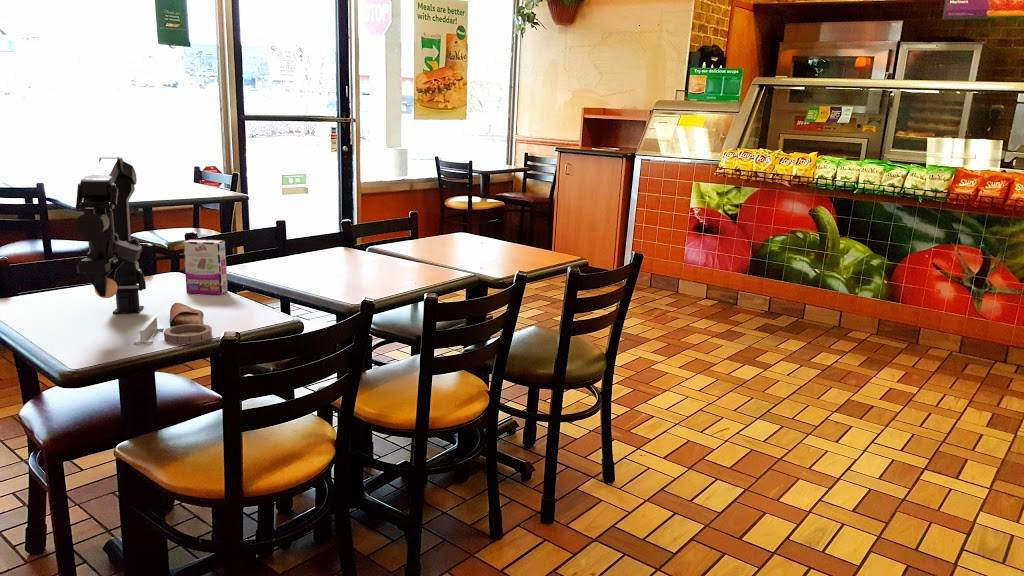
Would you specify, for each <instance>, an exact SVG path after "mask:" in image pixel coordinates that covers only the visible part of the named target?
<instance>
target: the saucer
mask: <svg viewBox="0 0 1024 576" xmlns="http://www.w3.org/2000/svg"><path fill="white" fill-rule="evenodd" d="M212 331H213V329H212V327H211V326H210V325H208V324H204V323H203V324H183V325H176V326H173V327H170V326H169V327H167V328H166V329H165V330H163V338H164V342H165V341H166V343H167V342H168V344H170V343H171V344H172V345H182V344H186V345H193V344H192V343H196V344H200V343H199V342H201V343H203V342H204V341H205V342H206V341H209V340H211V339H212V338H213V332H212ZM211 337H212V338H211ZM210 338H211V339H210ZM205 342H204V343H205Z"/></svg>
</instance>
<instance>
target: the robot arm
mask: <svg viewBox="0 0 1024 576" xmlns="http://www.w3.org/2000/svg"><path fill="white" fill-rule="evenodd" d="M137 179H138V178H137V172H136V170H135V168H134V166H133V165H132V164H130V163H128V162H126V161H124V160H123V157H119V156H118V155H117V156H114V155H112V156H111V155H107V156H105V155H104V156H100V157H99V159H98V165H97V166H96V169H95V170H94V172H93V173H92V174H90V175H86V176H84V177H83V178H81V179H80V182H79V183H78V184H77V191H76V204H75V209H76V210H83V213H82V214H81V215H80V216H78V218H77V219H76V221H75V228H76V230H77V232H78V233H79V234H80V235H81V236H82V237H84V240H85V242H87V243H88V252H87V253H86V257H85V258H82V259H81V260H80V261H79V262H78V263H76V273H79V274H85V276H86V277H87V279H88V280H89V282H90V283H91V284H92V286H93V287H95V289H96V291H97V292H98V294H99V295H100V296H101V297H100V298H102V297H105V296H106V287H107V278H110V279H112V280H114V281H115V282H116V284H117V292H116V294H115V295H114V296H115V302H116V303H115V304H116V308H115V309H114V310H113V311H112V314H113V315H116V314H139V313H140V312H141V311H142V310H143V309H144V305H140V299H139V298H140V296H139V292H142V291H143V290H146V289H147V283H146V279H145V274H144V273H143V271H142V269H141V268H140V264H139V261H138V260H140V256H141V254H142V252H143V246H142V245H141V244H140V239H137V238H132V235H131V233H132V232H131V220H130V219H131V217H130V216H131V215H130V202H129V201H130V199H131V197H132V195H133V194H134V193H135V189H136V188H135V186H136V185H137V181H138V180H137ZM95 289H94V290H95Z"/></svg>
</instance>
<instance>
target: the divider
mask: <svg viewBox="0 0 1024 576" xmlns="http://www.w3.org/2000/svg"><path fill="white" fill-rule="evenodd" d="M157 318H158V317H157V316H151V318H150V319H149V320H148V321H147V322H146V323H145V324H144V325H143V326H142V327H141V329H140V330H139V339H140V340H134V341H133V345H153V343H154V340H151V338H153V336H154V335H155V333H157V332H164V331H165V330H164V327H158V319H157ZM153 334H154V335H153Z"/></svg>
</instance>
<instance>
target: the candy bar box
mask: <svg viewBox="0 0 1024 576" xmlns="http://www.w3.org/2000/svg"><path fill="white" fill-rule="evenodd" d="M182 247H183V257H184V260H183V261H184V271H185V272H184V273H185V274H184V275H185V288H186V295H197V294H200V296H201V295H202V296H223V295H225V294H227V293H228V292H229V291H228V288H229V287H228V274H227V255H226V253H227V252H226V241H225V240H220V239H219V240H218V239H217V240H216V239H188V240H187V239H186V240H184V241H183V242H182Z"/></svg>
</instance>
